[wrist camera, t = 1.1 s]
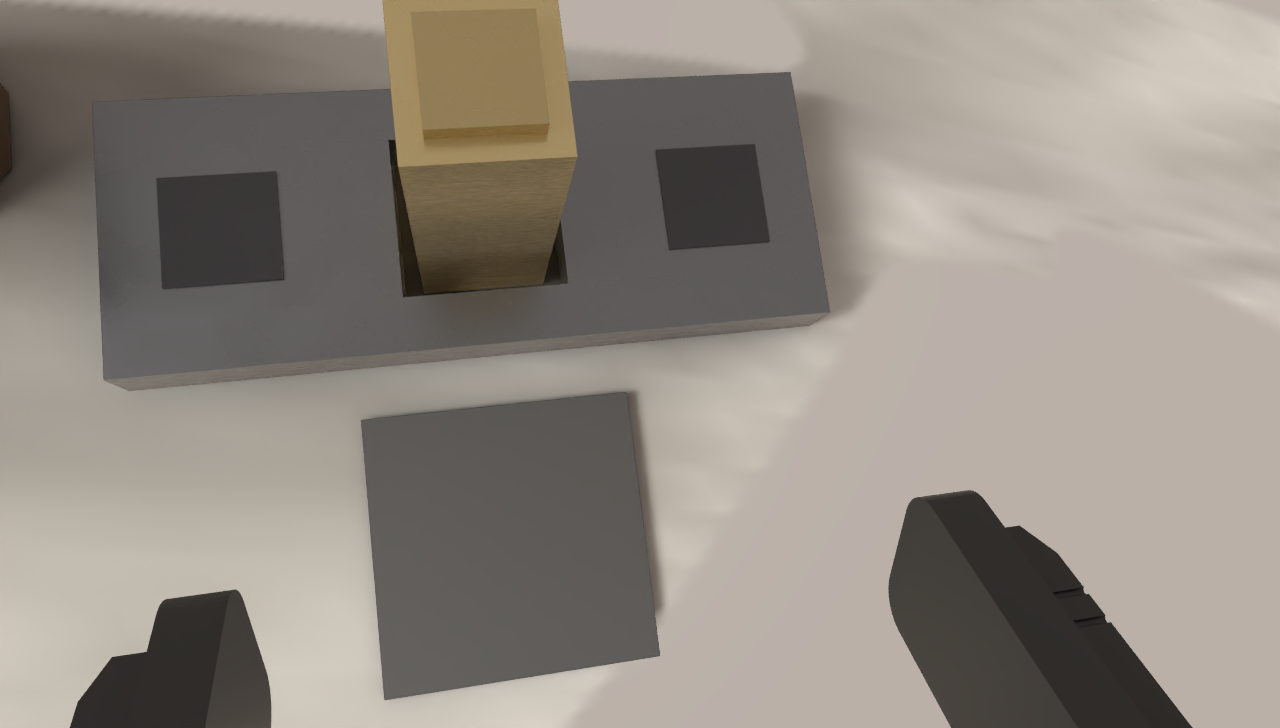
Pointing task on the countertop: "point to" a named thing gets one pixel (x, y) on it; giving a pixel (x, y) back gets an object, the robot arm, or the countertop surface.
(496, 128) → the wooden square peg
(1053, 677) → the robot arm
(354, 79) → the countertop surface
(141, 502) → the countertop surface
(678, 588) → the countertop surface
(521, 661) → the rubber mat
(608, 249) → the grey slotted plate
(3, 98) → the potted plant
